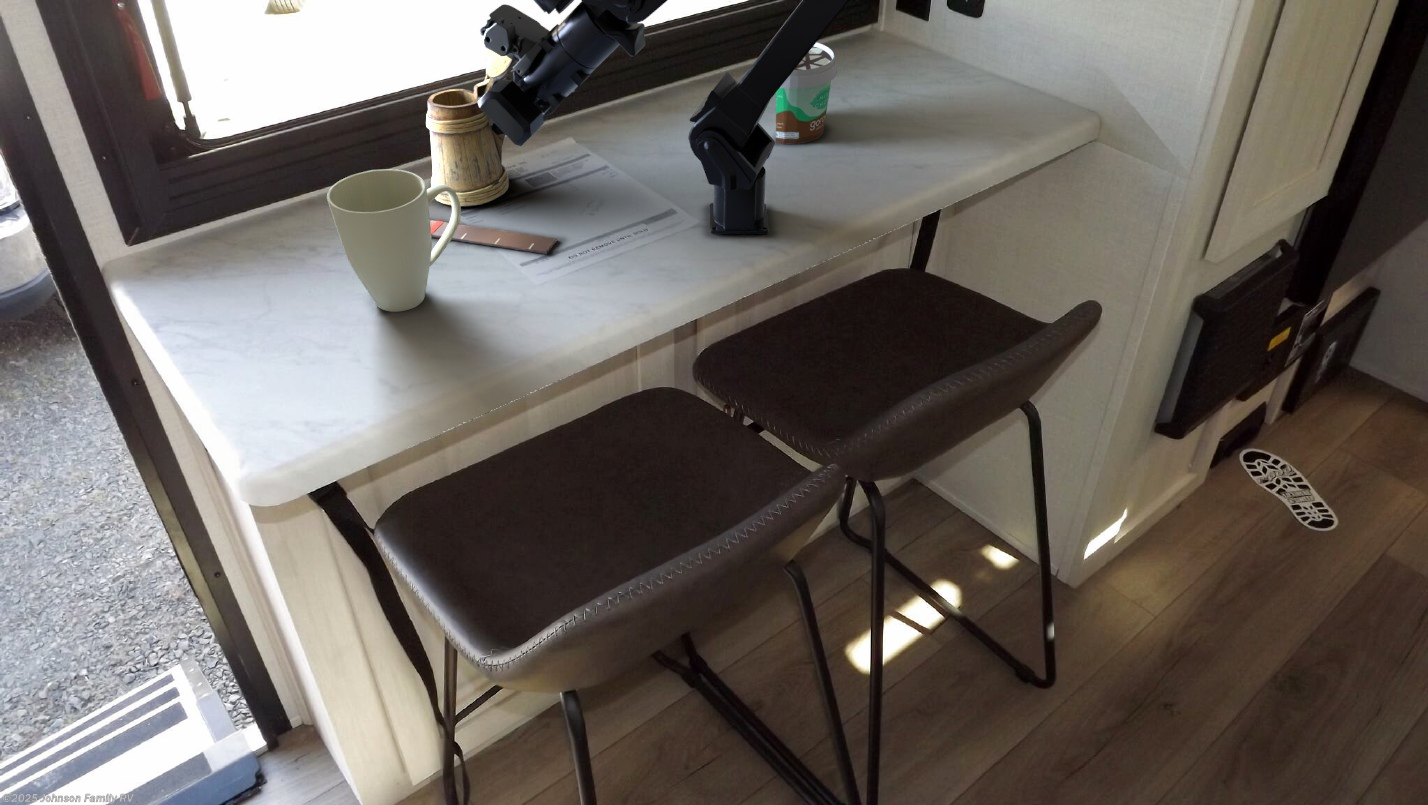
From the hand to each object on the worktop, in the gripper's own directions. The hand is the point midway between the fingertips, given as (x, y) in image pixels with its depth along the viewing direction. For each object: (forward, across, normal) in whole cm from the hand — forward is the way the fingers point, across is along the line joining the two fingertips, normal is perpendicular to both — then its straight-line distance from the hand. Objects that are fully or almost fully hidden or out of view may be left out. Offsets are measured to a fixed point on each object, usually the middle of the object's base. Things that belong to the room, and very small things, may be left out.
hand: (495, 130), depth 119 cm
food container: (-18, -26, +28) cm, 42 cm away
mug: (+5, +24, +6) cm, 25 cm away
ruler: (+4, +12, +6) cm, 14 cm away
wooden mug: (+6, 0, +4) cm, 7 cm away
